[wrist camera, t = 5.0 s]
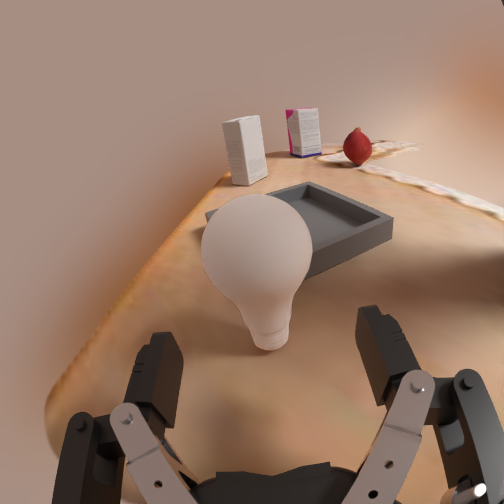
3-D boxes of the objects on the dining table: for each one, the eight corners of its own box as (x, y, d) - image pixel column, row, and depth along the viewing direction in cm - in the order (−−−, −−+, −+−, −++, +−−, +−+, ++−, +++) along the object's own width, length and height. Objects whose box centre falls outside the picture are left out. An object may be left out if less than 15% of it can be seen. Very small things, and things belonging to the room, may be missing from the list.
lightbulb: (238, 388, 17) (189, 238, 12) (224, 326, 22) (188, 193, 17) (327, 362, 18) (330, 206, 12) (298, 306, 23) (286, 172, 17)
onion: (349, 170, 52) (346, 129, 48) (341, 162, 57) (338, 125, 53) (376, 168, 51) (375, 128, 47) (366, 161, 56) (365, 125, 52)
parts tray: (310, 197, 42) (309, 181, 41) (391, 238, 29) (393, 217, 28) (209, 230, 38) (204, 213, 36) (265, 296, 25) (261, 273, 23)
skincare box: (250, 175, 57) (241, 116, 51) (269, 176, 54) (260, 114, 48) (231, 185, 53) (219, 122, 47) (250, 187, 50) (239, 120, 44)
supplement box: (322, 154, 65) (318, 107, 59) (302, 158, 63) (296, 110, 57) (309, 150, 70) (304, 107, 64) (289, 154, 68) (283, 109, 62)
